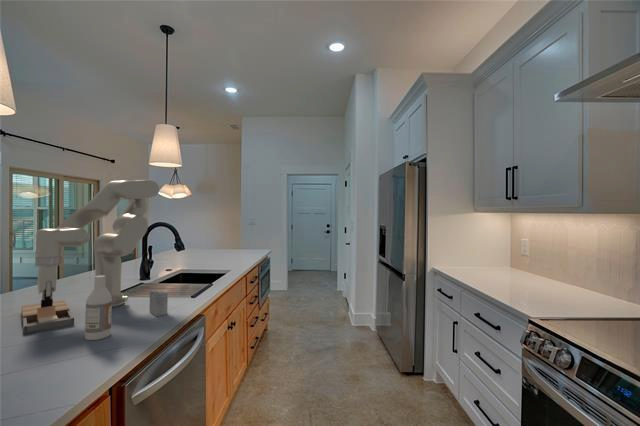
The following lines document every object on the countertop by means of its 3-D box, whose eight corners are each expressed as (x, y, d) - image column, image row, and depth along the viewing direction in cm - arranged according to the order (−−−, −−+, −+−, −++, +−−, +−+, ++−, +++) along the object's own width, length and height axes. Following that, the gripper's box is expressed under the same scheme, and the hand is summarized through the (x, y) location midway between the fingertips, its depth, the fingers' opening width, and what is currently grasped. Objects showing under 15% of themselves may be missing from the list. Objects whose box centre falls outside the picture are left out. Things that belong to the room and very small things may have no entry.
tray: (22, 324, 109) (23, 317, 109) (69, 316, 118) (69, 310, 118) (23, 334, 100) (24, 326, 100) (73, 325, 110) (74, 318, 110)
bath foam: (108, 339, 98) (110, 277, 99) (82, 342, 95) (84, 278, 96) (112, 331, 105) (114, 273, 105) (87, 334, 102) (89, 274, 102)
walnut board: (21, 313, 120) (21, 305, 120) (64, 307, 130) (64, 300, 130) (22, 324, 109) (22, 316, 109) (69, 316, 118) (69, 309, 118)
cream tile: (38, 322, 105) (38, 327, 105) (57, 318, 108) (57, 324, 108) (38, 318, 108) (38, 323, 108) (56, 315, 112) (56, 320, 112)
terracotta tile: (36, 311, 112) (37, 308, 111) (54, 308, 115) (55, 305, 114) (37, 323, 109) (37, 319, 108) (55, 319, 113) (55, 316, 112)
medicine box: (167, 314, 124) (168, 293, 124) (155, 316, 121) (156, 295, 121) (160, 310, 129) (161, 289, 129) (148, 312, 126) (149, 291, 126)
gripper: (34, 259, 117) (32, 307, 117) (35, 264, 107) (33, 317, 106) (59, 258, 123) (57, 303, 122) (63, 263, 112) (61, 312, 112)
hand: (46, 309), depth 114 cm, fingers closed
